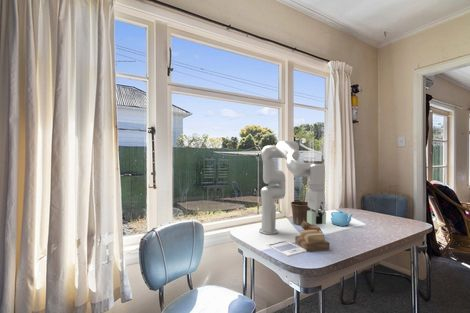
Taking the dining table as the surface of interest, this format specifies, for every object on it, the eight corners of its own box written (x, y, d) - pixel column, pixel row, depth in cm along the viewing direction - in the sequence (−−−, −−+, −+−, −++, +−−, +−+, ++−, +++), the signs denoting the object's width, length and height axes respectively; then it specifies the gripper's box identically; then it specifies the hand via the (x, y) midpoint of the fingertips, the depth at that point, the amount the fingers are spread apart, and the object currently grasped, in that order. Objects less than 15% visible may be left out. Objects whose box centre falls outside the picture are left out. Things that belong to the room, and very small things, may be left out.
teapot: (349, 214, 180) (326, 209, 194) (348, 229, 180) (326, 223, 195) (357, 212, 188) (335, 208, 202) (357, 226, 188) (335, 221, 202)
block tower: (295, 242, 151) (295, 229, 151) (316, 241, 154) (316, 228, 154) (306, 251, 137) (306, 237, 137) (329, 249, 140) (329, 235, 140)
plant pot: (309, 228, 182) (309, 206, 182) (287, 224, 190) (287, 203, 190) (313, 222, 196) (314, 202, 196) (293, 219, 204) (294, 200, 204)
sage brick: (306, 221, 131) (307, 210, 131) (320, 221, 133) (320, 210, 133) (311, 224, 126) (311, 212, 126) (325, 224, 128) (326, 212, 128)
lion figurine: (300, 235, 164) (301, 222, 164) (301, 233, 169) (301, 220, 169) (324, 238, 159) (324, 224, 159) (324, 236, 164) (324, 222, 164)
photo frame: (287, 254, 130) (266, 244, 146) (287, 257, 130) (266, 246, 146) (307, 249, 138) (285, 240, 153) (307, 251, 138) (285, 241, 153)
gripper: (302, 185, 137) (301, 218, 137) (319, 190, 120) (318, 227, 121) (314, 185, 138) (314, 217, 139) (333, 189, 122) (332, 226, 122)
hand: (316, 221), depth 130 cm, fingers closed on sage brick, 4 cm apart
